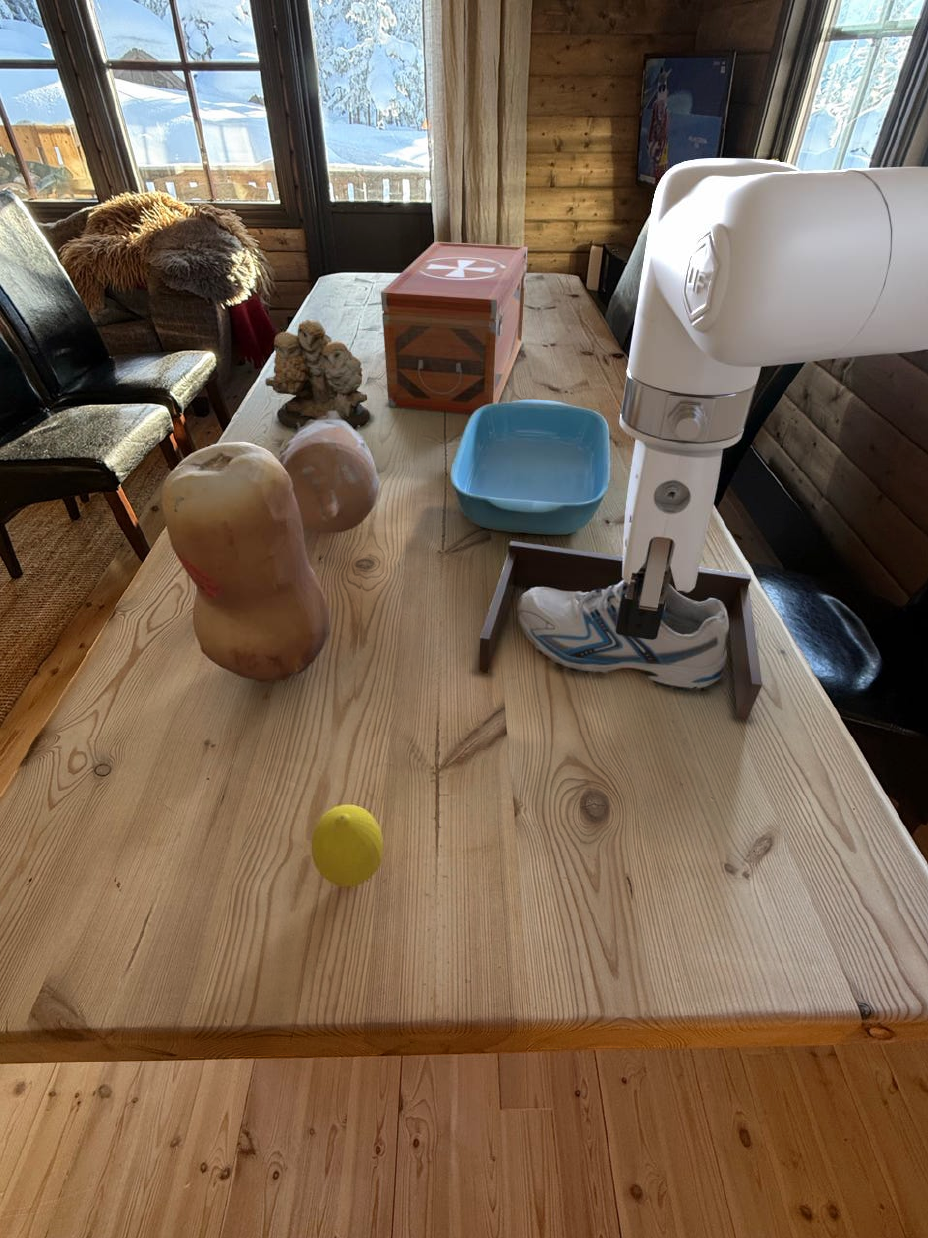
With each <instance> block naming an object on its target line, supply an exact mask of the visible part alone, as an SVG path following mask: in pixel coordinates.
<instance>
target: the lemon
mask: <svg viewBox="0 0 928 1238" xmlns="http://www.w3.org/2000/svg"><path fill="white" fill-rule="evenodd" d="M383 838H384V837H383V834H382V829H381V827H380V826H379V823H378V822H377V820H376V819H375V818H374V816H373V815H372V814H371V813H370V812H369V811H368V810H367V809H365V808H363V807H361V806H358V805H355V804H341V805H337V806H335V807H332V808H330V809H329V810H328V811H326V812H324V814H323V815H322V816H321V817H320V818H319V819H318V822H317V823H316V825H315V827H314V830H313V833H312V837H311V857H312V860H313V863H314V866H315V868H316V870H317V871H318V873H319V874H320V875H321V877H323V879H324V880H326V881H327V882H328V883H329V884H332V885H334V886H337V887H342V888H352V887H356V886H359V885H362V884H364V883H365V882H366V881H368V880H370V879H371V877H373V875H374V874H375V873H376V872H377V870H378V869H379V867H380V865H381V861H382V859H383V856H384V839H383Z"/></svg>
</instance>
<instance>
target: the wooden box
mask: <svg viewBox="0 0 928 1238" xmlns="http://www.w3.org/2000/svg"><path fill="white" fill-rule="evenodd" d="M528 247H529V246H523V245H505V244H488V243H487V244H486V243H485V244H484V243H465V242H446V241H434V242H433V243H432V244H431V245H430V246H429V247H427V249H426V250H425V251H423V252H422V253H421V254H420V255H419V256H418V257H417V258H416V259H414V261H413V262H411V264H410V265H408V266H407V267H406V268H405V269H404V270H402V272H401V273H400V274H399V275H398V276H396V278H395V279H393V280H392V281H391V282H390V283H389V284H388V285H387V286H386V287H385V288H384V289H383V290H382V291H381V292H380V299H381V311H382V314H381V315H382V329H383V330H382V331H383V342H384V359H385V372H386V386H387V387H386V389H387V401H388V407H394V408H401V409H403V408H404V409H415V410H424V411H425V410H426V411H436V412H437V411H438V412H448V413H459V414H468V415H472V414H473V413H474V412H475V411H476V410H477V409H479V408H481V407H482V406H485V405H488V404H493V403H499V401H500V399H501V396H502V394H503V392H504V389H505V386H506V384H507V382H508V379H509V377H510V374H511V371H512V369H513V367H514V364H515V362H516V359H517V357H518V354H519V351H520V349H521V347H522V343H523V327H524V311H525V296H526V280H527V268H528V267H527V266H528V265H527V262H528Z"/></svg>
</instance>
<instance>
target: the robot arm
mask: <svg viewBox="0 0 928 1238" xmlns="http://www.w3.org/2000/svg"><path fill="white" fill-rule="evenodd" d="M646 238H647V239H646V245H645V252H644V258H643V265H642V271H641V276H640V284H639V289H638V296H637V297H638V298H637V304H636V309H635V315H634V324H633V329H632V335H631V342H630V349H629V355H628V356H629V357H628V362H627V369H626V376H625V382H624V388H623V394H622V395H623V396H622V401H621V409H620V414H619V422H618V423H619V425H620V426H619V427H620V428H621V429H622V430H623V432H624V433H626V434H627V435H628V436H630V437H631V438H633V439H634V440H635V442H634V447H633V453H632V460H631V467H630V473H629V479H628V487H627V495H626V501H625V512H624V523H623V542H622V557H623V566H622V578H623V579H624V580H625V582H623V587H622V593H621V598H620V603H619V609H618V614H617V620H616V630H615V632H616V633H617V634H618V635H622V636H629V637H636V638H642V639H649V640H654V639H656V638H657V636H658V632H659V628H660V624H661V619H662V615H663V611H664V607H665V603H666V593H667V589H668V585H669V581H670V578H671V574H672V575H673V579H674V583H675V587H676V590H679V591H684V592H687V593H688V592H690V591H691V590H693V589H694V588H695V585H696V580H697V576H698V571H699V567H700V566H701V562H702V557H703V553H704V548H705V543H706V540H707V535H708V530H709V527H710V522H711V517H712V515H713V514H712V513H713V508H714V504H715V500H716V495H717V490H718V484H719V478H720V473H721V468H722V466H721V465H722V459H723V452H724V449H727V448H730V447H733V446H734V445H735V444H737V443H739V441H740V440H742V437H743V434H744V432H745V431H744V430H745V427H746V423H747V420H748V416H749V413H750V409H751V406H752V402H753V399H754V395H755V393H756V392H755V391H756V388H757V384H758V380H759V376H760V373H761V371H762V370H761V369H762V367H763V368H764V367H772V366H773V367H774V366H782V365H790V364H802V363H812V362H820V361H823V360H825V361H826V360H834V359H835V360H836V359H845V358H855V357H856V358H857V357H867V356H876V355H891V354H892V355H893V354H902V353H912V352H919V351H924V350H928V166H897V167H894V166H893V167H863V168H862V167H861V168H844V169H839V170H813V171H801V170H800V169H799V168H798V167H795V166H794V165H792V164H789V163H786V162H780V161H775V160H769V159H760V158H759V159H758V158H740V157H739V158H737V157H736V158H735V157H734V158H733V157H731V158H729V157H727V158H726V157H717V158H698V159H693V160H692V159H691V160H687V161H683V162H681V163H678V164H675V165H673V166H672V167H671V168H669V169H668V170H667V171H666V172H665V174H664V175H663V176H662V177H661V179H660V181H659V183H658V185H657V187H656V190H655V193H654V198H653V201H652V207H651V213H650V219H649V224H648V231H647V237H646ZM700 568H701V567H700Z"/></svg>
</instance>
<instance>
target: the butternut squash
mask: <svg viewBox="0 0 928 1238" xmlns="http://www.w3.org/2000/svg"><path fill="white" fill-rule="evenodd" d="M161 508H162V513H163V516H164V522H165V526H166V529H167V533H168V537H169V540H170V545H171V548H172V549H173V552H174V553H175V555H176V557H177V559H178V560H179V562H180V564H181V565H182V567H183V569H184V570H185V571H186V573H187V574H188V576H189V577H190V579H191V581H192V582H193V583H194V585H195V587H196V592H195V595H194V602H193V609H192V621H193V629H194V633H195V636H196V639H197V641H198V644H199V647H200V651H201V653H203V655H205V657H207V658H208V659H209V660H210V661H211V662H213V663H214V664H215V665H217V666H218V667H219V668H221V669H224V670H227V671H228V672H230V673H232V674H234V675H236V676H239V677H241V678H244V679H248V680H253V681H257V682H259V683H264V682H274V681H278V682H284V681H286V680H287V679H288V678H291V677H292V676H295V675H301V674H302V673H303V672H304V671H305V670H307V669H308V668H309V667H310V665H312V663H313V662H314V661H315V660H316V659H317V657H318V656H319V654H320V653H321V652H322V650H323V649H324V647H325V645H326V642H327V639H328V637H329V635H330V633H331V631H330V609H329V606H328V602H327V599H326V596H325V592H324V589H323V588H322V586H321V584H320V582H319V580H318V578H317V576H316V573H315V571H314V569H313V568H312V566H311V564H310V561H309V559H308V556H307V550H306V544H305V535H304V527H303V526H302V519H301V515H300V512H299V508H298V505H297V502H296V498H295V495H294V492H293V484H292V481H291V478H290V476H289V474H288V473H287V472H286V470H285V469H284V468H283V466H282V465H281V463H280V462H279V461H278V458H277V457H276V456H275V455H274V454H273V453H272V452H270V451H269V450H268V449H267V448H264V447H262V446H260V445H256V444H254V443H252V442H248V441H233V442H221V443H214V444H211V445H209V446H206V447H204V448H201V449H199V450H196V451H194V452H192V453H190V454H189V455H188V456H186V457H185V458H183V460H181V461H180V462H179V463H178V464H177V466H175V467H174V469H173V470H172V471H171V472H170V473H169V474H168V475H167V477H166V479H165V481H164V483H163V485H162V490H161Z"/></svg>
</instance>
